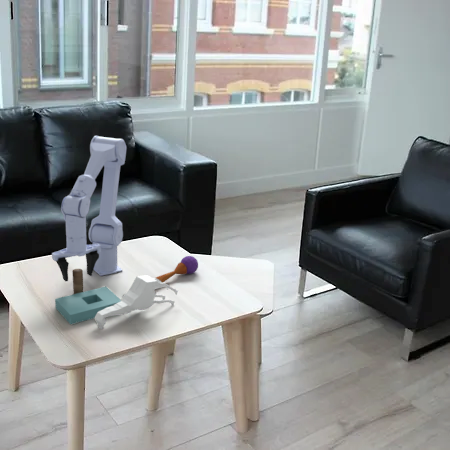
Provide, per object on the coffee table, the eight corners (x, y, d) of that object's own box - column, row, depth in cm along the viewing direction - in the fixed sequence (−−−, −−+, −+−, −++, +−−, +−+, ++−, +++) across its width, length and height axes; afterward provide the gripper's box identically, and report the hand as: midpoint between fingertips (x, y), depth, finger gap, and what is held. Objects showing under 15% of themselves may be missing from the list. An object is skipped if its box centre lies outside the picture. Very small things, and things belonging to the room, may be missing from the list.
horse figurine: (153, 328, 194) (87, 325, 175) (170, 277, 193) (106, 269, 174) (163, 334, 191) (98, 332, 172) (181, 283, 189) (116, 275, 171)
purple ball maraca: (143, 274, 200) (187, 252, 213) (146, 291, 201) (190, 268, 215) (156, 277, 196) (200, 254, 209) (159, 294, 198) (203, 271, 211)
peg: (71, 293, 193) (70, 269, 190) (81, 291, 195) (80, 267, 192) (75, 297, 191) (74, 273, 188) (85, 295, 193) (84, 271, 190)
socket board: (55, 307, 184) (55, 298, 183) (106, 295, 193) (105, 286, 192) (70, 324, 176) (70, 315, 175) (122, 310, 185) (122, 301, 184)
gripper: (57, 244, 179) (59, 287, 184) (105, 235, 187) (105, 277, 192) (48, 236, 184) (50, 278, 189) (94, 227, 192) (95, 268, 197)
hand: (77, 277), depth 191 cm, fingers open, 7 cm apart
